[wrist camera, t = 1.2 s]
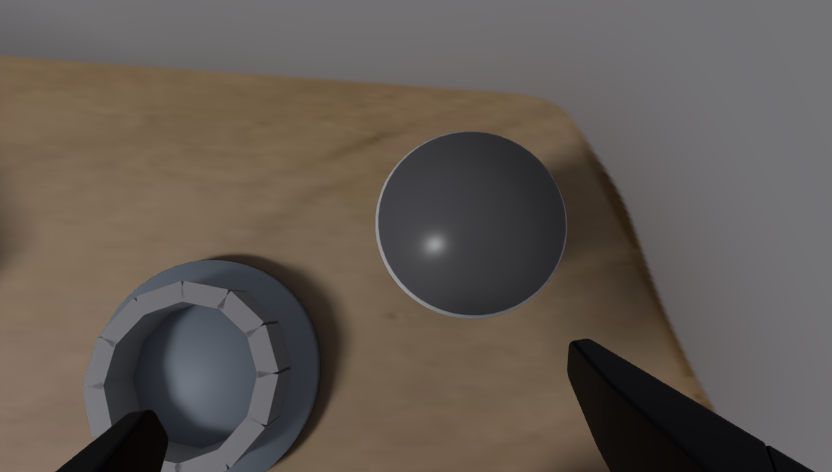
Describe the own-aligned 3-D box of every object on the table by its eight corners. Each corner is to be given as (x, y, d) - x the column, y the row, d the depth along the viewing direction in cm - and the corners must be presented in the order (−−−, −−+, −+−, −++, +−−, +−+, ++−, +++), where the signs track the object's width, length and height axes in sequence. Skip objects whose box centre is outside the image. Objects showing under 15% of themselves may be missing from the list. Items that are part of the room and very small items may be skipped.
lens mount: (365, 359, 22) (356, 367, 19) (210, 540, 21) (175, 579, 18) (213, 219, 24) (184, 207, 21) (60, 381, 23) (5, 392, 20)
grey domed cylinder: (514, 257, 23) (609, 209, 11) (453, 331, 22) (485, 362, 11) (442, 197, 24) (458, 93, 12) (380, 267, 23) (334, 230, 11)
